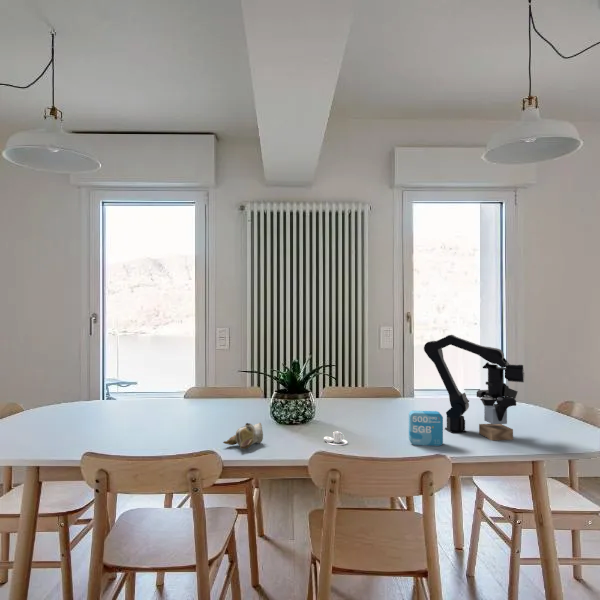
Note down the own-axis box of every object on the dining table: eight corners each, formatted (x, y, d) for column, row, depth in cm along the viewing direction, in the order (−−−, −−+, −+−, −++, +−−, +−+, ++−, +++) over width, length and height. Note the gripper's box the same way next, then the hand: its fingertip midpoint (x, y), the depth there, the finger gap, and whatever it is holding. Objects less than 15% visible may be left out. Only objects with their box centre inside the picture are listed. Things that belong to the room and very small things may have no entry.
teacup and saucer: (320, 442, 171) (320, 431, 171) (334, 438, 177) (334, 428, 177) (338, 447, 165) (338, 436, 165) (351, 443, 171) (351, 432, 171)
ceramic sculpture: (270, 420, 168) (241, 431, 156) (271, 443, 168) (242, 455, 157) (251, 416, 175) (221, 426, 163) (251, 438, 175) (222, 449, 163)
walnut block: (491, 440, 174) (491, 430, 174) (479, 433, 183) (479, 424, 183) (513, 439, 175) (512, 429, 175) (499, 433, 184) (499, 423, 184)
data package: (410, 445, 168) (410, 412, 168) (408, 441, 172) (408, 410, 172) (443, 446, 166) (443, 414, 166) (440, 442, 171) (440, 411, 171)
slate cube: (492, 424, 176) (492, 409, 176) (484, 420, 182) (484, 405, 182) (506, 423, 176) (506, 408, 177) (498, 420, 182) (498, 405, 182)
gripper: (529, 383, 171) (529, 424, 171) (500, 376, 190) (500, 413, 189) (502, 384, 170) (502, 425, 169) (475, 376, 188) (475, 413, 188)
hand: (495, 419), depth 179 cm, fingers closed on slate cube, 6 cm apart
